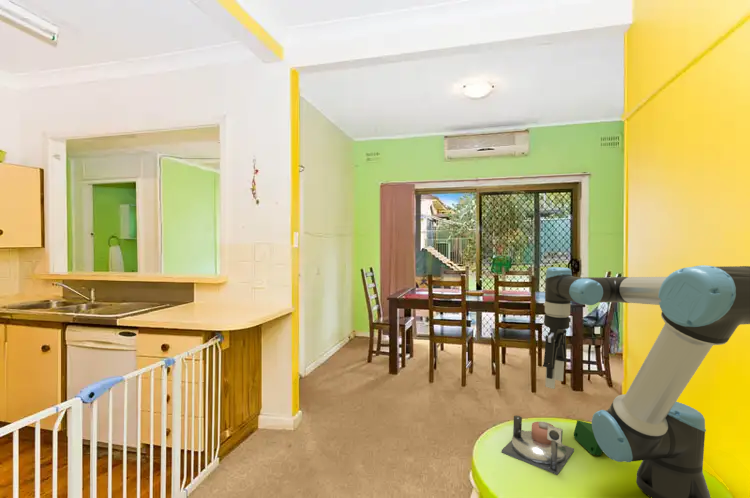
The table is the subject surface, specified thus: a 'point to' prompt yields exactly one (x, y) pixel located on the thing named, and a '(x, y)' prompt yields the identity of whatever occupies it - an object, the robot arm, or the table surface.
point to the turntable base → (540, 465)
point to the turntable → (533, 445)
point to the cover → (540, 432)
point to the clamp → (587, 437)
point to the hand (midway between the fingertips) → (554, 383)
